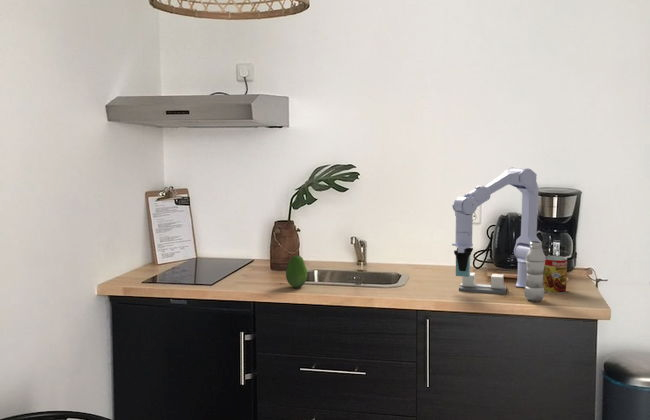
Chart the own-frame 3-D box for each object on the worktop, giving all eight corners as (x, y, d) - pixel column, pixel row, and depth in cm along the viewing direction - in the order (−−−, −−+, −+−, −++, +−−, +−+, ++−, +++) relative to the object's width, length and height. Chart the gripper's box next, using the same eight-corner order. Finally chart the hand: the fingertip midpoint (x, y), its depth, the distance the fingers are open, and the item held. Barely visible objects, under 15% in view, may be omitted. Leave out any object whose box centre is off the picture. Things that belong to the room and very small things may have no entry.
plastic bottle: (539, 297, 215) (541, 240, 213) (547, 302, 209) (549, 243, 206) (521, 298, 215) (522, 240, 213) (528, 303, 208) (530, 243, 206)
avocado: (310, 285, 236) (309, 254, 235) (302, 290, 229) (302, 258, 228) (290, 284, 239) (290, 253, 238) (282, 288, 232) (281, 256, 230)
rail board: (506, 288, 229) (507, 273, 228) (504, 294, 220) (505, 278, 220) (462, 285, 234) (462, 270, 234) (458, 290, 226) (458, 275, 225)
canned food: (557, 294, 219) (558, 260, 218) (538, 290, 225) (539, 257, 224) (570, 291, 224) (571, 258, 222) (551, 287, 230) (552, 254, 228)
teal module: (470, 274, 222) (470, 254, 221) (468, 276, 218) (468, 257, 218) (457, 273, 224) (457, 254, 223) (455, 276, 220) (455, 256, 219)
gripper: (455, 227, 227) (455, 264, 229) (449, 233, 214) (448, 273, 215) (475, 228, 225) (474, 265, 227) (470, 234, 211) (469, 274, 213)
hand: (463, 269), depth 221 cm, fingers closed on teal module, 4 cm apart
